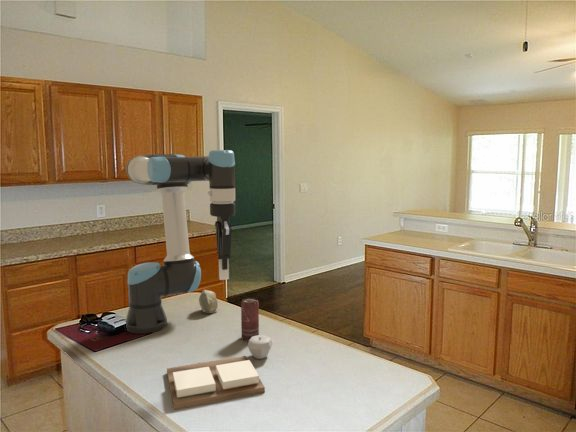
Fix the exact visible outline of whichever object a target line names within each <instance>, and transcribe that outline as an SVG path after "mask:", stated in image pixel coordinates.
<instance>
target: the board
mask: <svg viewBox="0 0 576 432" xmlns="http://www.w3.org/2000/svg"><path fill="white" fill-rule="evenodd" d="M246 360H249V359H248V357H247V356H246V355H242V356H236V357H231V358H224V359H219V360H218V359H216V360H211V361H206V362H205V361H204V362H198V363H192V364H184V365H179V366H173V367H167V368H166V374H167V379H168V380H167V381H168V385H169V390H170V394H171V400H172V405H173V410H180V409H185V408H189V407H195V406H200V405H201V406H202V405H205V404H206V405H207V404H210V403H214V402H215V403H216V402H221V401H226V400H231V399H236V398H241V397H246V396H252V395H257V394H262V393H265V391H266V390H265V388H266V386H265V385H264V384H263V382H262V380H261V378H259V383H257V384H253V385H247V386H242V387H236V388H231V389H223V388H222V385H221V383H220V381H219V378H218V376H217V373H216V365H221V364H227V363H234V362H240V361H246ZM203 367H209V368H210V371H211V373H212V376H213V378H214V381H215V383H216V391H213V392H209V393H204V394H198V395H193V396H187V397H182V398H179V397H178V398H177V395H176V390H175V386H174V381H173V372H179V371H185V370H191V369H197V368H203Z"/></svg>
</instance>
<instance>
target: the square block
mask: <svg viewBox="0 0 576 432" xmlns="http://www.w3.org/2000/svg"><path fill="white" fill-rule="evenodd" d="M173 381H174V386H175V390H176V395H177V398H178V397H179V398H182V397H187V396H193V395H198V394H204V393H209V392H213V391H216V383H215V381H214V378H213V376H212V373H211V371H210V368H209V367H203V368H197V369H191V370H185V371H179V372H173Z"/></svg>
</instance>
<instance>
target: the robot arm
mask: <svg viewBox="0 0 576 432" xmlns="http://www.w3.org/2000/svg"><path fill="white" fill-rule="evenodd" d="M235 160H236V159H235V152H234V151H233V150H231V149H230V150H229V149H225V150H223V149H222V150H221V149H220V150H218V149H213V150H212V149H211V150H209V152H208V156H207V155H206V156H185V155H184V154H175V153H171V154H170V153H169V154H167V153H165V154H164V153H163V154H161V153H160V154H156V153H154V154H147V153H146V154H141V155H138V156H134V157H132V158H131V159H129V160H128V161H127V164H126V167H125V173H126V175H127V177H128V179H129V180H130V181H132V183H135V184H139V185H142V186H143V185H144V186H156V190H157V191H158V192H159V194H160V195H161V203H162V213H163V223H164V224H163V225H164V235H165V245H166V256H165V257H164V259H163V265H161V264H160V263H159V262H157V261H154V262H153V261H152V262H143V263H140V264H136V265H135V266H132V267H131V268H130V269H129V270H128V271H127V281H126V282H127V289H128V290H127V292H128V310H127V314H126V318H125V321H124V323H125V322H126V328H127V331H126V332H129V333H130V334H132V333H133V334H150V333H154V332H157V331H161V330H163V329H164V328H166V327H167V326H168V317H167V315H166V312H165V310H164V306H163V305H162V298H163V297H168V296H174V295H175V296H176V295H180V294H188V293H190V292H194V291H196V290H197V289H198V288H199V286H200V284H201V280H202V279H201V278H202V269H201V266H200V263H199V262H198V261H196V260H195V256H194V255H192V254H191V252H190V243H189V242H190V241H189V231H188V230H189V229H188V222H187V221H188V219H187V210H186V209H187V208H186V197H185V196H186V195H185V192H186V191H187V189H188V187H189V186H188V185H189V184H191V182H209V191H207V195H209V201H210V204H209V215H210V216H212V217H216V221H215V223H214V227H215V237H216V238H215V239H216V253H217V260H218V280H219V281H224V280H226V281H227V280H230V262H229V260H230V259H231V249H232V246H231V245H232V232H233V229H232V223H231V221H230V218H229V217H233V216H235V215H236V203H235V202H236V161H235Z"/></svg>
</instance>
